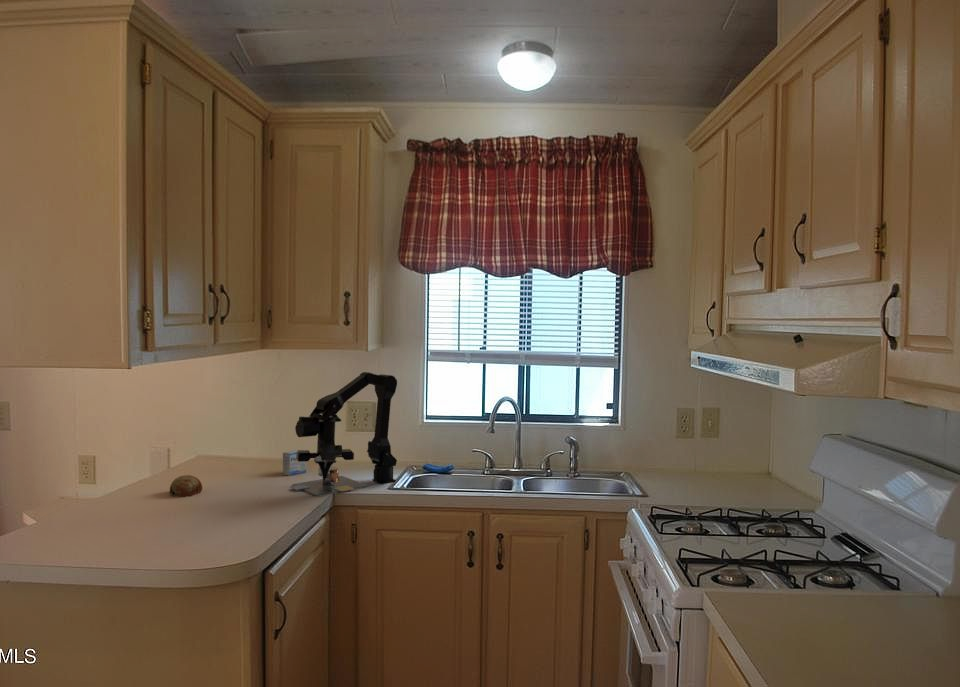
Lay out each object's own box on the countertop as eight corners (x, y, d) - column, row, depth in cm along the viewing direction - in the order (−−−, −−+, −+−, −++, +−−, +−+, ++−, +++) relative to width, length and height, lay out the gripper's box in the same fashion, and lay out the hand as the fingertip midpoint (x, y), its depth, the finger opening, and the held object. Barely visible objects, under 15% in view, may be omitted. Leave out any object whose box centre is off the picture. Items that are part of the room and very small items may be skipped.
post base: (341, 477, 234) (341, 468, 234) (369, 487, 219) (369, 478, 219) (285, 487, 219) (285, 477, 218) (311, 499, 204) (311, 488, 204)
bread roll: (168, 503, 209) (158, 485, 206) (191, 485, 217) (183, 466, 214) (187, 508, 205) (178, 489, 201) (211, 488, 213) (202, 470, 209)
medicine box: (289, 476, 234) (289, 453, 234) (282, 474, 237) (282, 452, 237) (306, 472, 241) (306, 450, 240) (299, 470, 243) (299, 449, 243)
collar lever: (316, 472, 225) (316, 462, 225) (336, 471, 228) (336, 460, 228) (324, 483, 210) (324, 471, 210) (345, 481, 213) (345, 470, 213)
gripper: (301, 439, 200) (298, 487, 201) (358, 438, 208) (356, 484, 208) (297, 433, 211) (295, 479, 211) (351, 433, 218) (349, 476, 218)
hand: (324, 480), depth 212 cm, fingers closed
